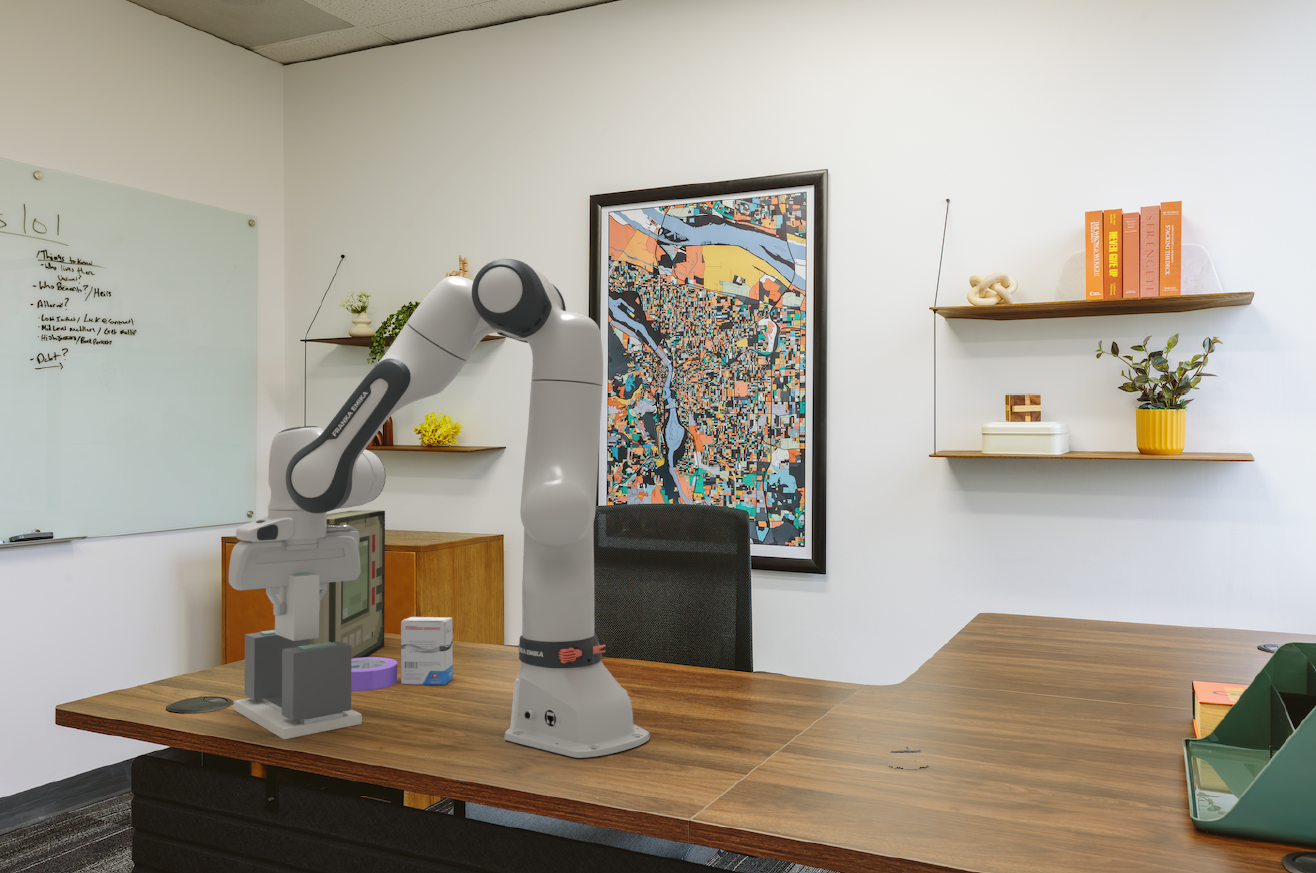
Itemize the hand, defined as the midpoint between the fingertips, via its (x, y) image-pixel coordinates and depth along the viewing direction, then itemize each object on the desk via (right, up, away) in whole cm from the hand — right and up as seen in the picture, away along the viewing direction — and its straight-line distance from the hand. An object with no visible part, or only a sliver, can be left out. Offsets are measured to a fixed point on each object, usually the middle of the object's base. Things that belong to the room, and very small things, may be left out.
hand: (296, 613), depth 150 cm
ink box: (+15, -17, +23) cm, 33 cm away
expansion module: (0, -4, 0) cm, 4 cm away
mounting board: (0, -17, 0) cm, 16 cm away
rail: (0, -15, 0) cm, 15 cm away
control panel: (-7, -18, +41) cm, 45 cm away
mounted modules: (0, -14, 0) cm, 14 cm away
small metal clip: (+92, -16, -26) cm, 97 cm away
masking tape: (+4, -18, +22) cm, 28 cm away
